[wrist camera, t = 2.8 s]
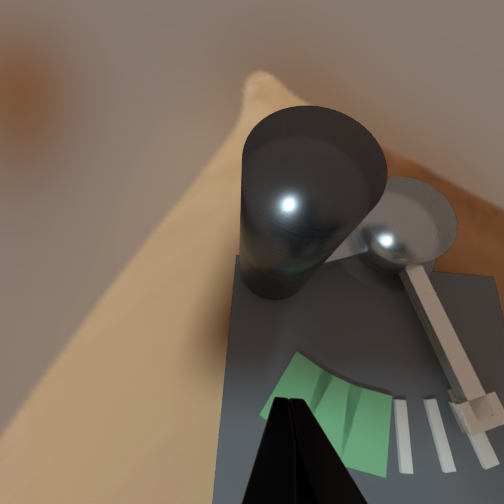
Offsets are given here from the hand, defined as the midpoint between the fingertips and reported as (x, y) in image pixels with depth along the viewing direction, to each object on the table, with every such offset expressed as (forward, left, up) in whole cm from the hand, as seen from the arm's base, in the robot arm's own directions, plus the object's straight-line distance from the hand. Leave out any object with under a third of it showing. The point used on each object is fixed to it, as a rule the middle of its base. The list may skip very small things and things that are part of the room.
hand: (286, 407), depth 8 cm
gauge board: (+3, -5, -7) cm, 9 cm away
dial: (+4, -4, -5) cm, 8 cm away
